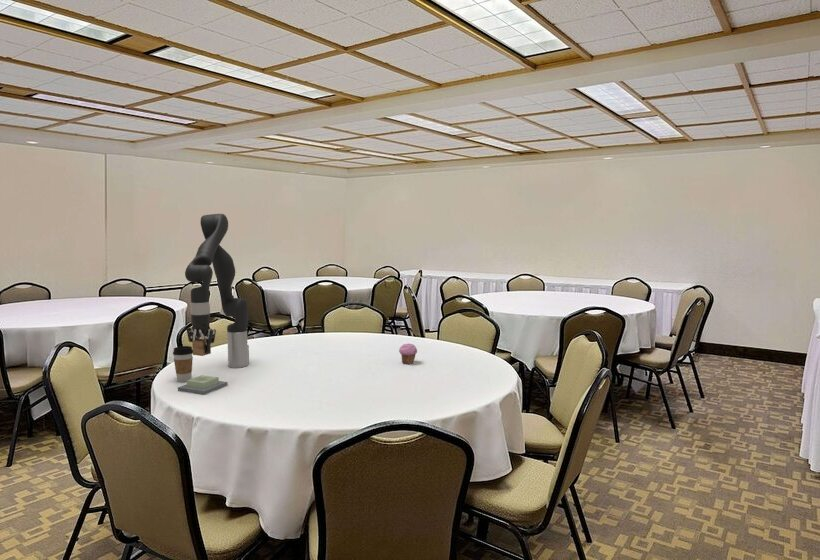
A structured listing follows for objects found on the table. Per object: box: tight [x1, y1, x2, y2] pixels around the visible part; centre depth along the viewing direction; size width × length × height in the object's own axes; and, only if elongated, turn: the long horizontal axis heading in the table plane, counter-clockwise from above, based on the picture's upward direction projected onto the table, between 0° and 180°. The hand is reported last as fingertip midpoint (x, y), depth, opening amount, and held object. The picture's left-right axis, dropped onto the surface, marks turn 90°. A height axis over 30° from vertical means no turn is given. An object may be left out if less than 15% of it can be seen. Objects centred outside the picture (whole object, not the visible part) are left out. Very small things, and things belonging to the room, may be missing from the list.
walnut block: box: [191, 338, 212, 357], centre depth 232 cm, size 5×5×6 cm
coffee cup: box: [172, 345, 194, 383], centre depth 245 cm, size 8×8×15 cm
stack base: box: [177, 374, 229, 396], centre depth 234 cm, size 14×14×4 cm
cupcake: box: [398, 343, 418, 365], centre depth 275 cm, size 9×9×10 cm
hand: (201, 352), depth 232 cm, fingers closed on walnut block, 5 cm apart
